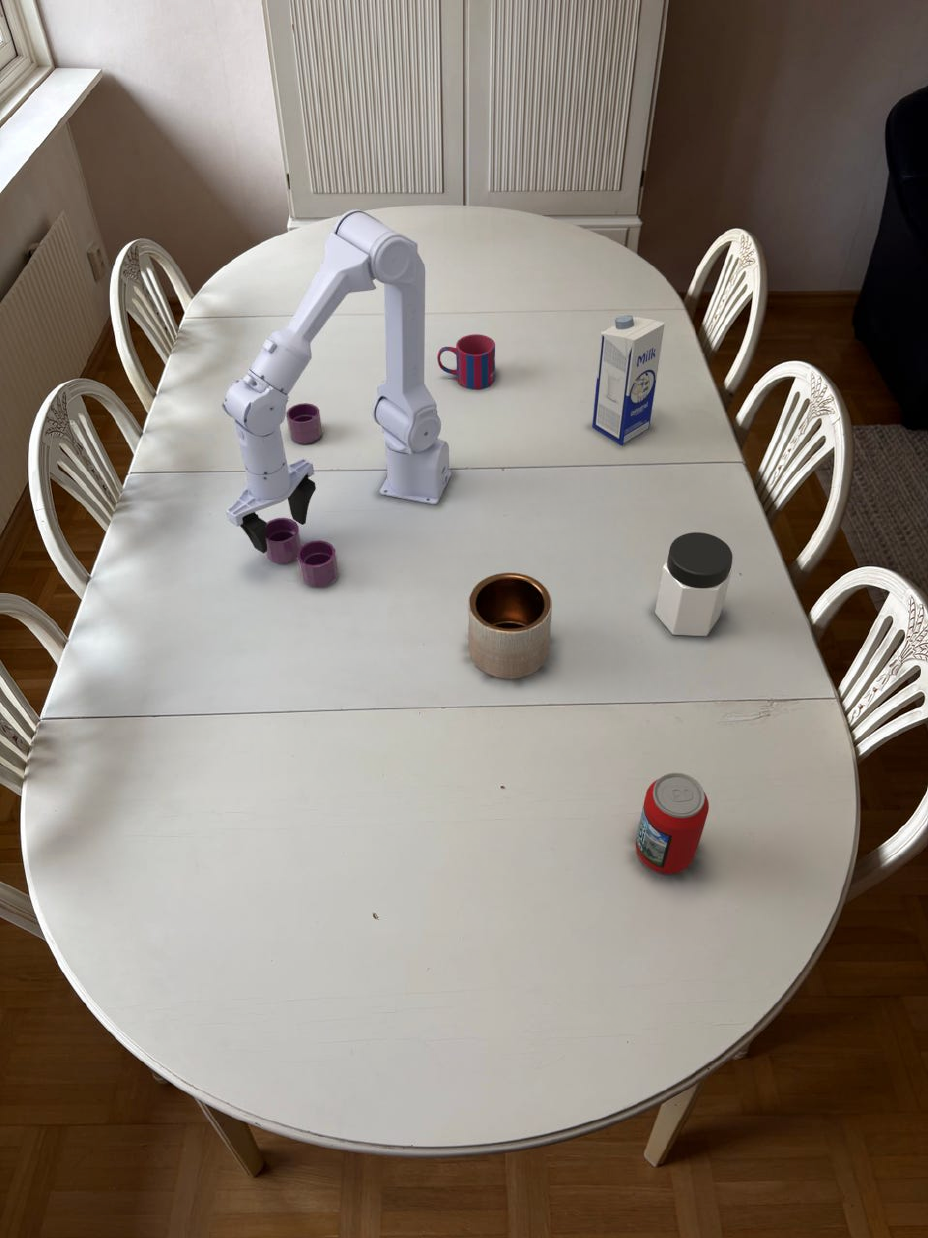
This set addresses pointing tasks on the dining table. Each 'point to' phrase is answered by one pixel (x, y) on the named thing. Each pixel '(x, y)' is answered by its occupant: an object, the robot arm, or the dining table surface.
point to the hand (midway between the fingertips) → (280, 535)
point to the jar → (694, 584)
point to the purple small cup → (318, 563)
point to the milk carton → (627, 377)
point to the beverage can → (671, 823)
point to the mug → (473, 361)
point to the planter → (509, 625)
